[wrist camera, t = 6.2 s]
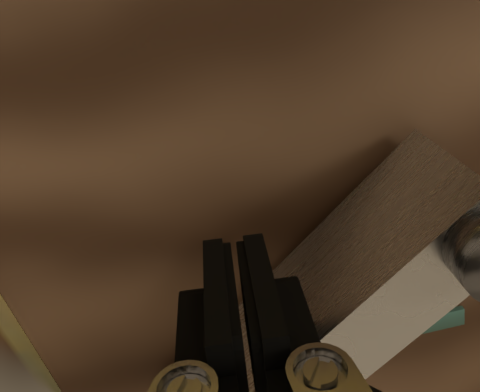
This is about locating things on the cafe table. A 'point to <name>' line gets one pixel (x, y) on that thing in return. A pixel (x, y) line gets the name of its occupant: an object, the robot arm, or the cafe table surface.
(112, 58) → the jamb plate
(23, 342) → the cafe table surface
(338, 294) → the bar
